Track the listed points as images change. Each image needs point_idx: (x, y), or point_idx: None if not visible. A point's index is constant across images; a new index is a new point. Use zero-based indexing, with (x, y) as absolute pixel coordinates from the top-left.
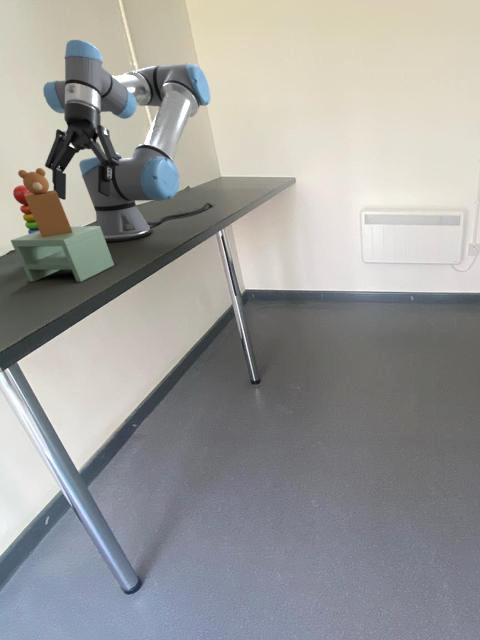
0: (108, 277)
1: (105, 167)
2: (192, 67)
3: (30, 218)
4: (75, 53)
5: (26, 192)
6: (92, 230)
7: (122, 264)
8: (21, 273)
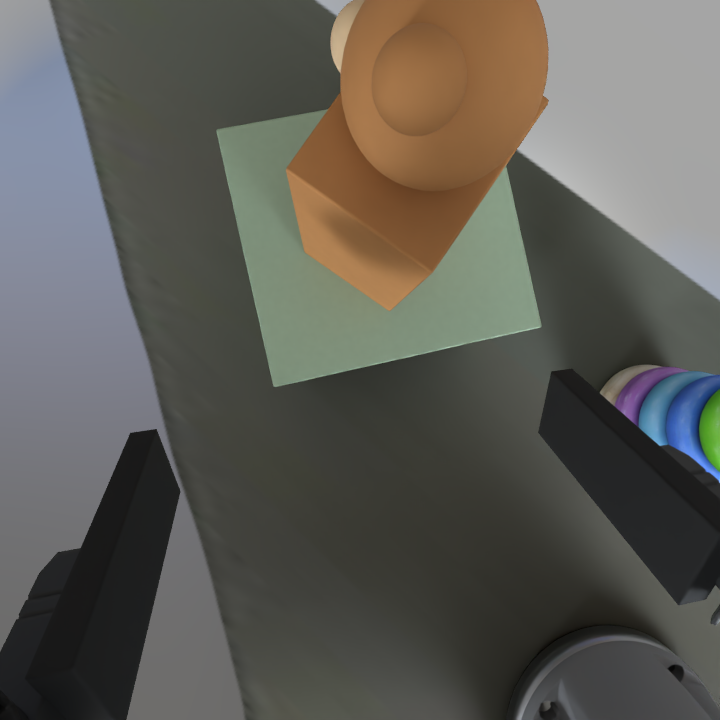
0: (194, 264)
1: (14, 682)
2: None
3: None
4: None
5: None
6: (260, 325)
7: (269, 395)
8: (555, 229)
